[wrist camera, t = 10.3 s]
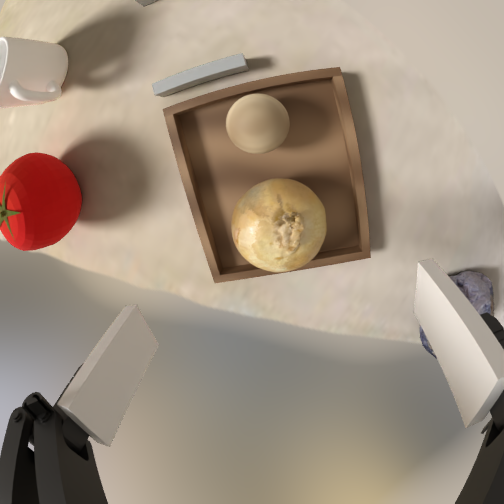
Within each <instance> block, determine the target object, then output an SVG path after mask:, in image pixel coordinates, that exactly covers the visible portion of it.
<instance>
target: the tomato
mask: <svg viewBox="0 0 504 504" xmlns="http://www.w3.org/2000/svg"><path fill="white" fill-rule="evenodd" d="M81 204H82V195H81V191H80V187H79V185H78V182H77V180H76V178H75V176H74V174H73V173H72V171H71V170H70V169H69V168H68V167H67V166H66V165H65V164H64V163H63V162H61V161H60V160H59V159H57V158H56V157H53V156H51V155H48V154H43V153H29V154H26V155H24V156H22V157H20V158H18V159H16V160H15V161H14V162H13V163H12V164H10V165H9V166H8V167H7V168H6V169H5V171H4V172H3V173H2V175H1V176H0V230H1V232H2V234H3V235H4V237H5V238H6V239H7V241H8V242H9V243H10V244H11V245H13V246H14V247H16V248H18V249H20V250H23V251H27V250H36V249H40V248H44V247H47V246H50V245H53V244H55V243H57V242H58V241H60V240H61V239H62V238H63V237H64V236H65V235H66V234H67V233H68V232H69V231H70V230H71V229H72V227H73V226H74V224H75V223H76V221H77V219H78V217H79V214H80V210H81Z"/></svg>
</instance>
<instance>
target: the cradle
mask: <svg viewBox="0 0 504 504" xmlns="http://www.w3.org/2000/svg"><path fill="white" fill-rule="evenodd" d="M135 1H137V2H138V3H139V4H141V5H142V6H146V5H148V4H150V3H153V2H155V1H157V0H135ZM247 70H249V69H248V66H247V62H246V59H245V57H244V55H243V53H241V54H237V55H234V56H230V57H226V58H223V59H219V60H216V61H213V62H209V63H206V64H203V65H200V66H197V67H194V68H191V69H188V70H186V71H183V72H180V73H178V74H175V75H172V76H170V77H167V78H165V79H162V80H160V81H158V82H155V83H153V84H152V86H153V91H154V95H156V96H161V97H165V96H168V95H170V94H173V93H176V92H178V91H181V90H184V89H187V88H189V87H192V86H195V85H198V84H201V83H204V82H208V81H211V80H214V79H217V78H221V77H224V76H228V75H231V74H235V73H239V72H243V71H247Z"/></svg>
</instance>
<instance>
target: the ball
mask: <svg viewBox="0 0 504 504" xmlns="http://www.w3.org/2000/svg"><path fill="white" fill-rule="evenodd" d="M289 127H290V120H289V116H288V113H287V111H286V109H285V107H284V106H283V105H282V104H281V103H280V102H279V101H278V100H277V99H275V98H273V97H271V96H269V95H266V94H250V95H246V96H244V97H242V98H240V99H239V100H237V101H236V102H235V103H234V104H233V105H232V107H231V108H230V110H229V112H228V114H227V118H226V129H227V133H228V136H229V138H230V139H231V141H232V142H233V143H234V144H235V145H236V146H237V147H238V148H240V149H241V150H243V151H245V152H248V153H252V154H263V153H268V152H271V151H273V150H275V149H276V148H278V147H279V146H280V145H281V144H282V143H283V142H284V141H285V139H286V137H287V135H288V132H289Z"/></svg>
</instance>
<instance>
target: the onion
mask: <svg viewBox="0 0 504 504" xmlns="http://www.w3.org/2000/svg"><path fill="white" fill-rule="evenodd" d="M231 229H232V236H233V240H234V243H235V245H236V248H237V249H238V251H239V252H240V254H241V255H242V256H243V257H244V258H245V259H246V260H247V261H248V262H249V263H251V264H252V265H254V266H256V267H258V268H260V269H263V270H266V271H271V272H287V271H291V270H295V269H297V268H300V267H302V266H304V265H306V264H307V263H309V262H310V261H311V260H312V259H313V258H314V257H315V256H316V255H317V253H318V252H319V250H320V248H321V246H322V244H323V242H324V239H325V236H326V232H327V224H326V213H325V208H324V206H323V204H322V202H321V201H320V199H319V198H318V197H317V195H316V194H315V193H314V192H313V191H312V190H311V189H310V188H308V187H307V186H305V185H304V184H302V183H300V182H298V181H295V180H292V179H285V178H275V179H269V180H266V181H263V182H261V183H259V184H257V185H255V186H254V187H252V188H251V189H250V190H249V191H247V192H246V193H245V194H244V195H243V196H242V198H240V199H239V201H238V202H237V204H236V206H235V208H234V211H233V215H232V221H231Z"/></svg>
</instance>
